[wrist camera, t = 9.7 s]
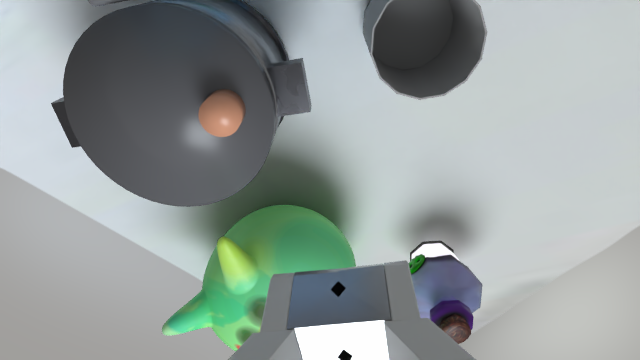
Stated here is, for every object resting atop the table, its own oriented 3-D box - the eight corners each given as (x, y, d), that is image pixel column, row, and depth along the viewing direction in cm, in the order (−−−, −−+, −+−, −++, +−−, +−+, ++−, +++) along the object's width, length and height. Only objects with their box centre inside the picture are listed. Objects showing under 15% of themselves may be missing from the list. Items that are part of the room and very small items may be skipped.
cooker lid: (28, -7, 30) (-12, -2, 27) (242, -49, 29) (229, -49, 25) (122, 205, 38) (101, 230, 35) (293, 183, 37) (289, 206, 33)
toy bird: (307, 314, 57) (298, 418, 44) (191, 264, 54) (145, 361, 41) (379, 218, 50) (394, 310, 37) (250, 153, 46) (217, 229, 33)
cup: (349, -1, 39) (353, 11, 30) (436, -42, 37) (468, -42, 28) (381, 82, 42) (393, 115, 33) (462, 48, 41) (497, 74, 32)
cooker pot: (79, 9, 40) (6, 24, 31) (295, -31, 38) (283, -28, 29) (141, 165, 48) (97, 212, 39) (325, 139, 45) (322, 183, 36)
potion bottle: (412, 221, 50) (432, 293, 39) (479, 240, 51) (517, 314, 40) (386, 275, 54) (398, 353, 43) (449, 291, 55) (476, 372, 44)
